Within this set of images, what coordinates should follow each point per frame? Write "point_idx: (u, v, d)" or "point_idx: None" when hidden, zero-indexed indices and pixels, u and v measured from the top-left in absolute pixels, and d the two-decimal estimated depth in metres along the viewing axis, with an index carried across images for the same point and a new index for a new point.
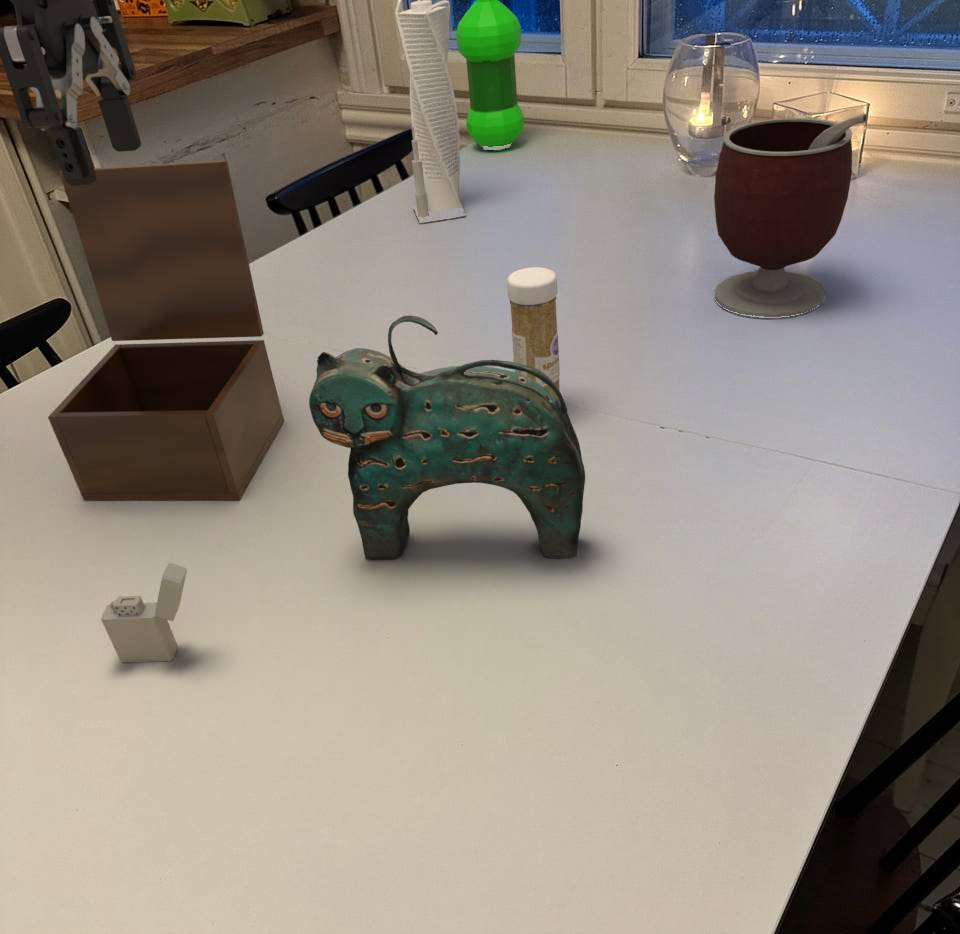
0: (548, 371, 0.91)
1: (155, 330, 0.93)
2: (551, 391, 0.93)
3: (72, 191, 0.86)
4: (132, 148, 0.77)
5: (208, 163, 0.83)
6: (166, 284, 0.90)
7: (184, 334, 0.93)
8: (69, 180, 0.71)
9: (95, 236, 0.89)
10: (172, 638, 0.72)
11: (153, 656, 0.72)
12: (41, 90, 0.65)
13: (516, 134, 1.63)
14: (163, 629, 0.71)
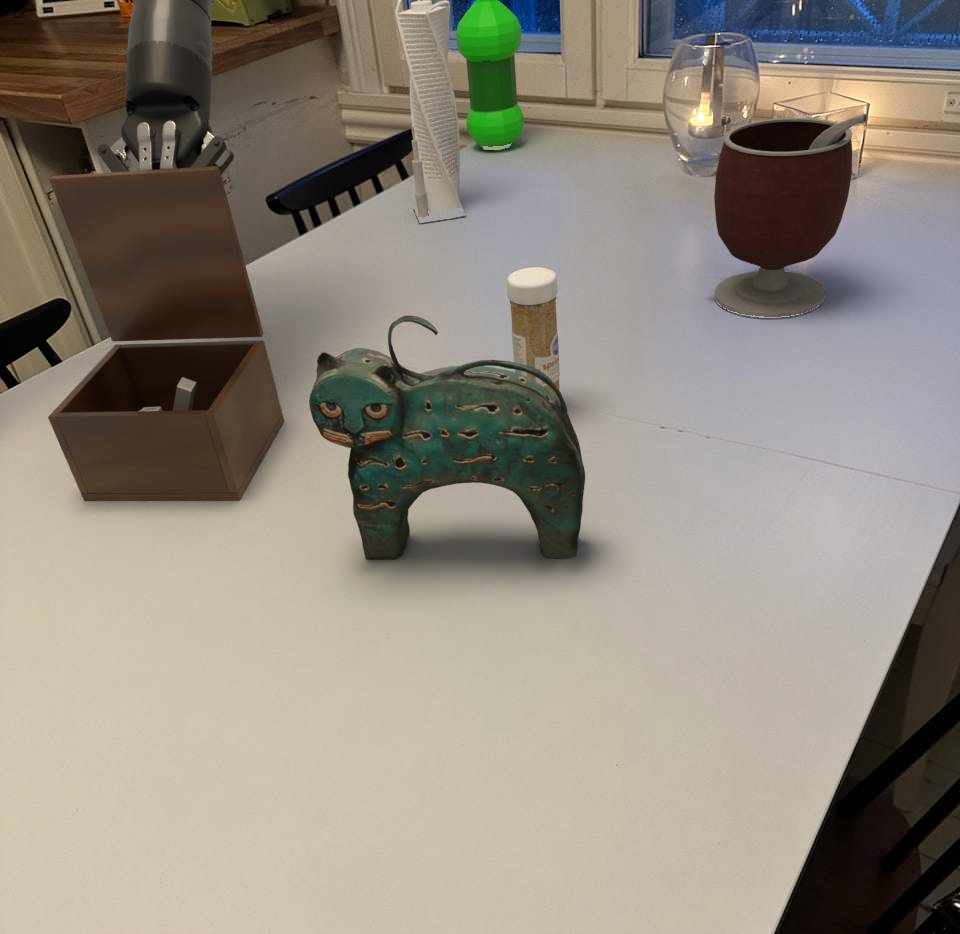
0: (548, 371, 0.91)
1: (155, 331, 0.93)
2: (551, 391, 0.93)
3: (63, 198, 0.85)
4: None
5: (200, 170, 0.82)
6: (163, 287, 0.90)
7: (184, 335, 0.93)
8: None
9: (89, 241, 0.88)
10: None
11: None
12: None
13: (516, 134, 1.63)
14: None
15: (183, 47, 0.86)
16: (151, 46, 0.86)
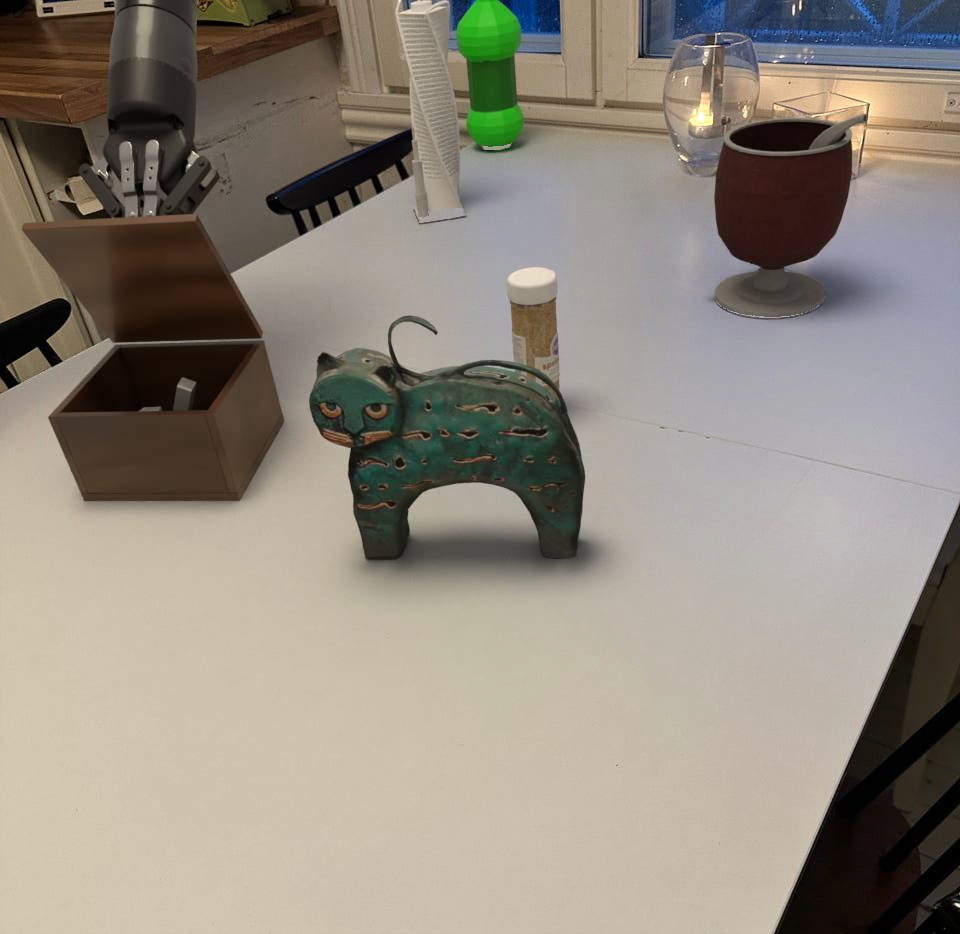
0: (548, 371, 0.91)
1: (154, 335, 0.93)
2: (551, 391, 0.93)
3: (40, 243, 0.82)
4: None
5: (179, 222, 0.78)
6: (157, 306, 0.89)
7: (184, 338, 0.93)
8: None
9: (74, 274, 0.86)
10: None
11: None
12: (99, 201, 0.86)
13: (516, 134, 1.63)
14: None
15: (166, 63, 0.83)
16: (133, 63, 0.83)
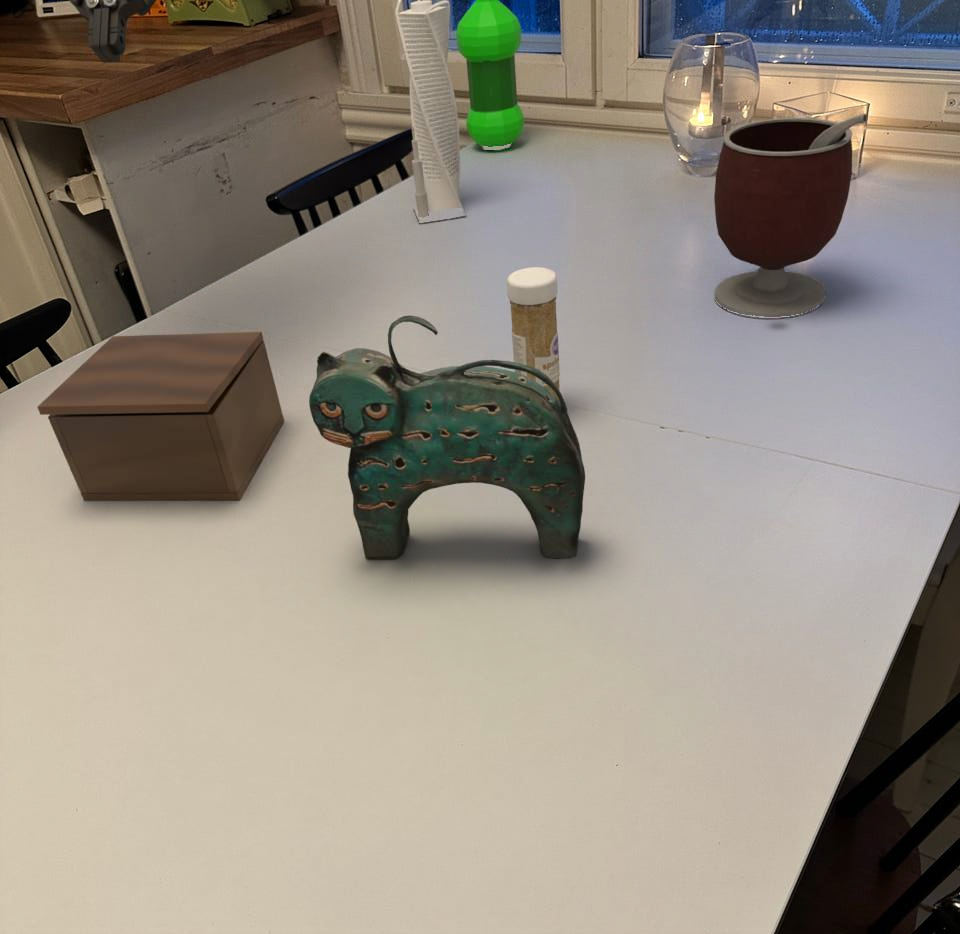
0: (548, 371, 0.91)
1: None
2: (551, 391, 0.93)
3: None
4: None
5: (192, 411, 0.81)
6: None
7: None
8: None
9: None
10: None
11: None
12: None
13: (516, 134, 1.63)
14: None
15: None
16: None
